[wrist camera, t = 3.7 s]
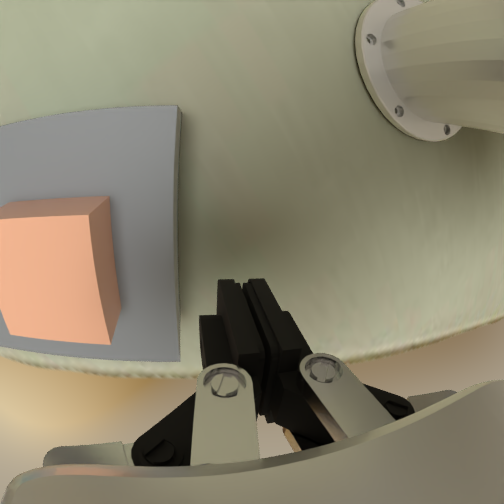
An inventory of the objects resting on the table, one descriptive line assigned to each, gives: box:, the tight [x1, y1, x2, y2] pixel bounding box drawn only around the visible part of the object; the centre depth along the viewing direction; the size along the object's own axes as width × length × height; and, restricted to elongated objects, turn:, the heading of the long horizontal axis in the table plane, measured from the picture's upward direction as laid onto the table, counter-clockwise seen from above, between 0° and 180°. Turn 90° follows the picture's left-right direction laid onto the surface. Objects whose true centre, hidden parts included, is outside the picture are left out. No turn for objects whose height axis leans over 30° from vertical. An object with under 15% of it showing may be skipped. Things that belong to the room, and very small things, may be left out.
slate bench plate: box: [0, 106, 182, 362], centre depth 14 cm, size 18×14×5 cm
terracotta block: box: [0, 196, 121, 345], centre depth 11 cm, size 6×6×3 cm
